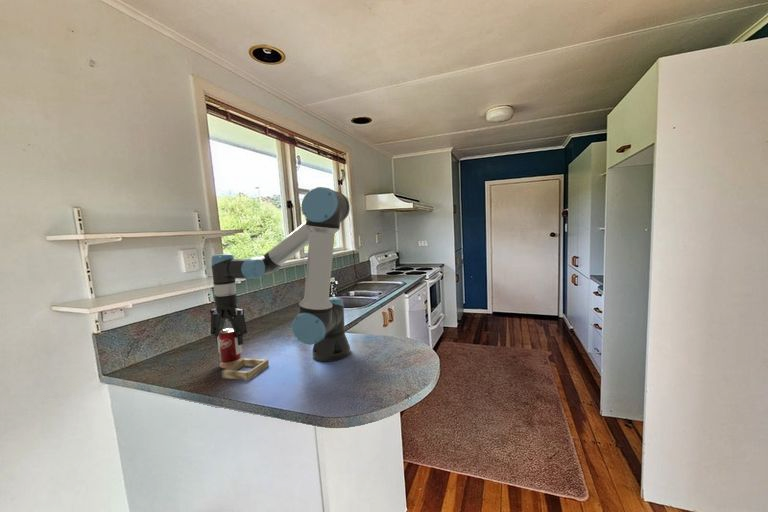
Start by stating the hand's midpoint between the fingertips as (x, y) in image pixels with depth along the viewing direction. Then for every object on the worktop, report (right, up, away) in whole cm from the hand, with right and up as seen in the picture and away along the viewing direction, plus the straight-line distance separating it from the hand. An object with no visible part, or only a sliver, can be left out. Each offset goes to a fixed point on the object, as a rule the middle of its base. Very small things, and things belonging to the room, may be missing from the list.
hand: (230, 352), depth 118 cm
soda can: (0, -3, 0) cm, 3 cm away
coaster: (0, -5, 0) cm, 4 cm away
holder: (+10, -5, -8) cm, 13 cm away
